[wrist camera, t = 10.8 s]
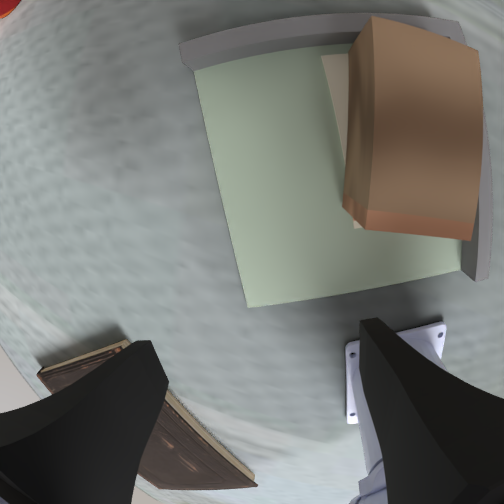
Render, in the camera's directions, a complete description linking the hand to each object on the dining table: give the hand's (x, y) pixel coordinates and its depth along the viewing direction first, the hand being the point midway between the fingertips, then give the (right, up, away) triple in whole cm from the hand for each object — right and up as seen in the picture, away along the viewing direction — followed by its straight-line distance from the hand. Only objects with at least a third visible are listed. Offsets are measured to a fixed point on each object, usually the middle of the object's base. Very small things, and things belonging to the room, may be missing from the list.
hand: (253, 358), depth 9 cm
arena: (+6, +9, +6) cm, 12 cm away
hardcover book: (-12, -16, +18) cm, 26 cm away
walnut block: (+8, +10, +5) cm, 13 cm away
